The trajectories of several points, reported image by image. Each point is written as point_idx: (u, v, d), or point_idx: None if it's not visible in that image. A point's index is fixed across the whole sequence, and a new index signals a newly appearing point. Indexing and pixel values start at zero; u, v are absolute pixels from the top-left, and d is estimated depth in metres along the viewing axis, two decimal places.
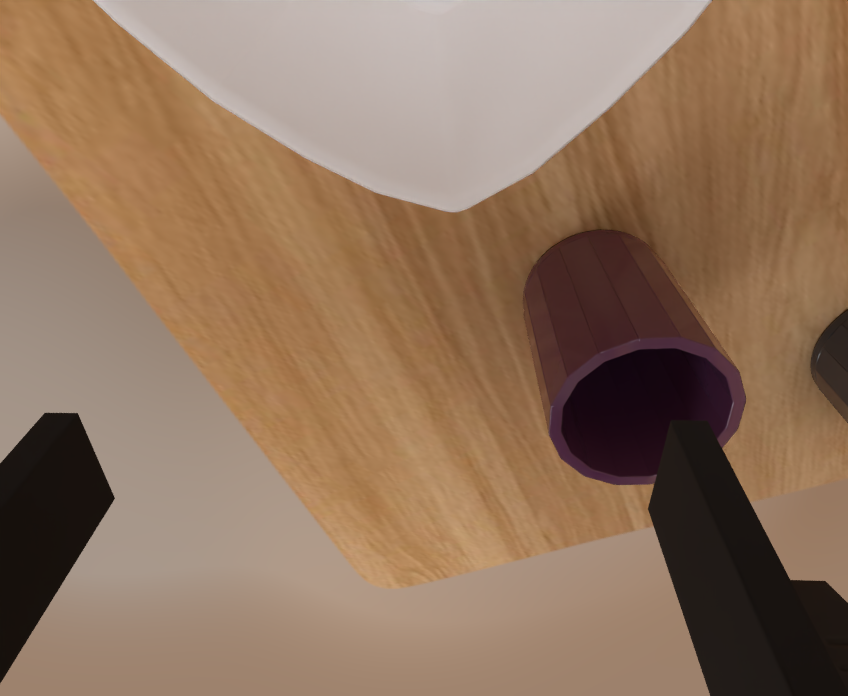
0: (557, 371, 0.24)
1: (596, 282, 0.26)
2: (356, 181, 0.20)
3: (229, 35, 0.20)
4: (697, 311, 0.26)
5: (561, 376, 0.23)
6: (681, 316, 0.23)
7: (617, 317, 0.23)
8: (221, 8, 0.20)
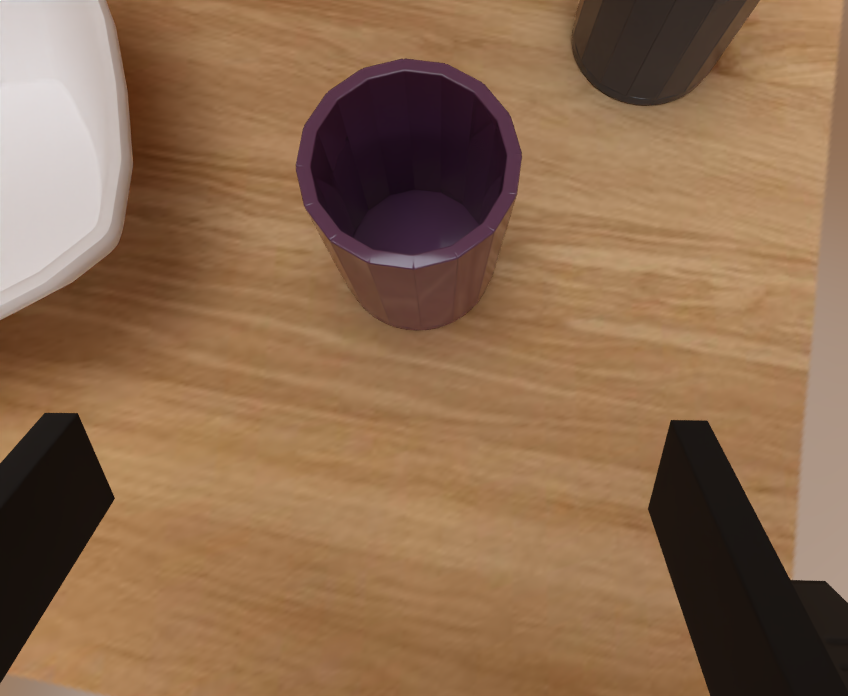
0: (319, 230, 0.21)
1: None
2: (24, 293, 0.21)
3: None
4: None
5: (313, 220, 0.20)
6: None
7: None
8: None
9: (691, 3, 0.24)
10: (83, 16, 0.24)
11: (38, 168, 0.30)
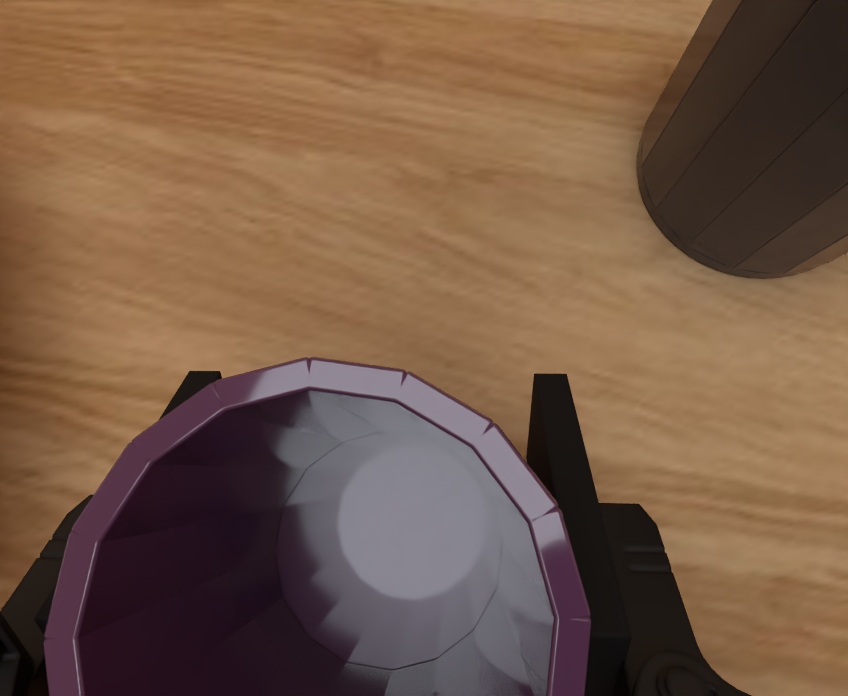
0: None
1: None
2: None
3: None
4: None
5: None
6: None
7: None
8: None
9: None
10: None
11: None
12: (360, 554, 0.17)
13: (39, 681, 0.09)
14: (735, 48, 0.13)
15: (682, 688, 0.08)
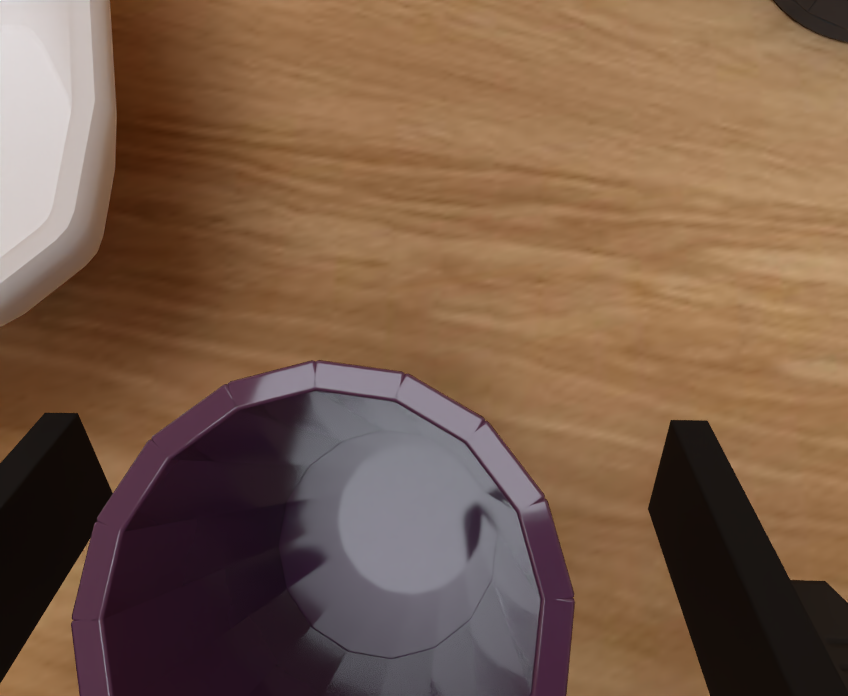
0: None
1: None
2: None
3: None
4: None
5: None
6: None
7: None
8: None
9: None
10: None
11: None
12: (361, 548, 0.18)
13: None
14: None
15: None
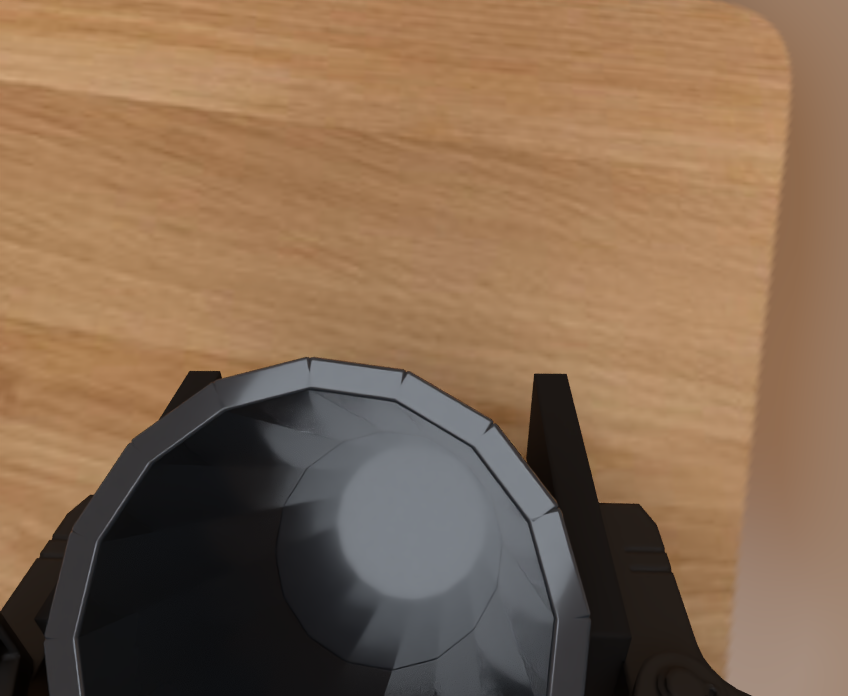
0: None
1: None
2: None
3: None
4: None
5: None
6: None
7: None
8: None
9: None
10: None
11: None
12: None
13: (39, 681, 0.09)
14: None
15: (682, 688, 0.08)
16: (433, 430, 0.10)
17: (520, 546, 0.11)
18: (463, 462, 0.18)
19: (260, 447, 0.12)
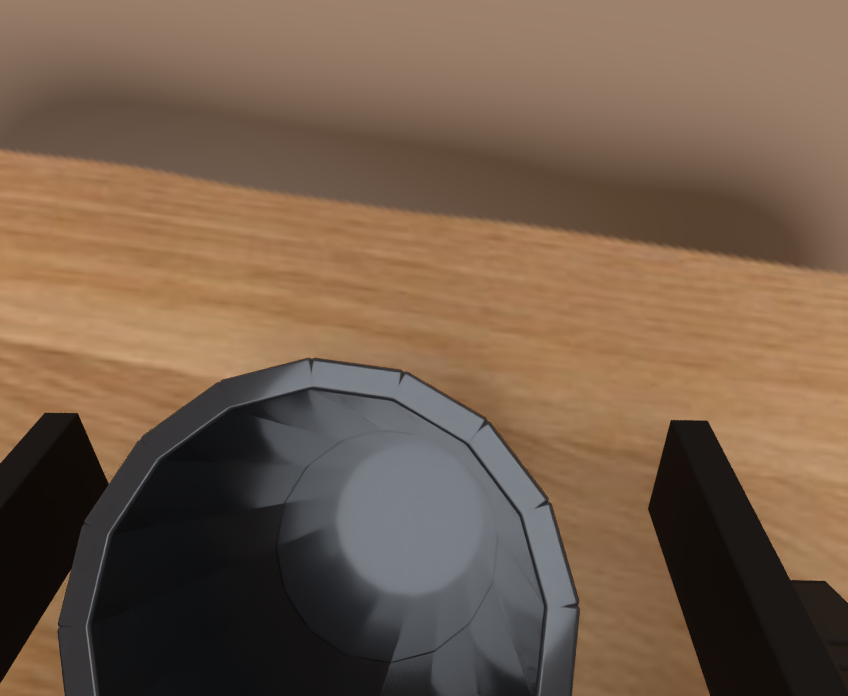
0: None
1: None
2: None
3: None
4: None
5: None
6: None
7: None
8: None
9: None
10: None
11: None
12: None
13: None
14: None
15: None
16: (430, 428, 0.11)
17: (514, 540, 0.11)
18: (460, 460, 0.18)
19: (263, 445, 0.13)
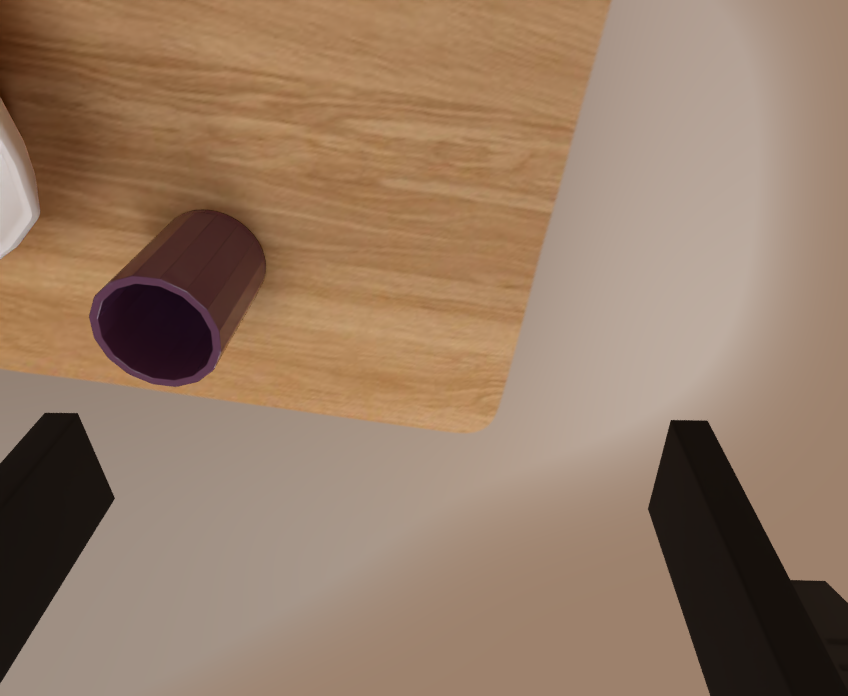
0: None
1: None
2: (1, 254, 0.34)
3: None
4: (162, 244, 0.37)
5: None
6: None
7: None
8: None
9: None
10: None
11: None
12: None
13: None
14: None
15: None
16: None
17: None
18: None
19: None
